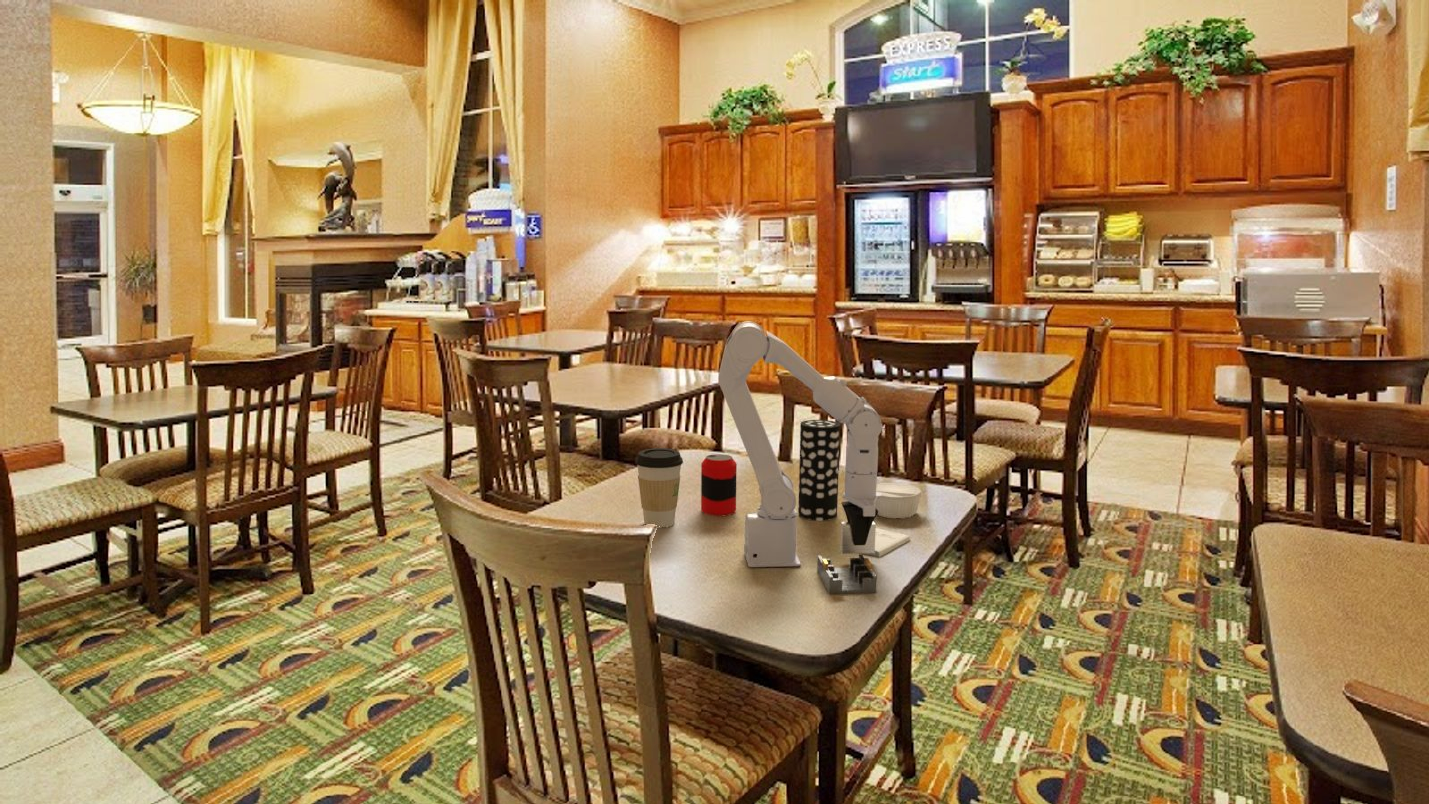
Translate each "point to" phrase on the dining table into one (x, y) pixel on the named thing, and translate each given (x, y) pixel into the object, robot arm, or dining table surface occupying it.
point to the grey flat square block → (847, 540)
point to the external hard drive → (887, 541)
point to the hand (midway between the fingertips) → (858, 542)
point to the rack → (847, 576)
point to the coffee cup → (659, 484)
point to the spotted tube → (818, 469)
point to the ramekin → (897, 500)
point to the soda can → (718, 485)
